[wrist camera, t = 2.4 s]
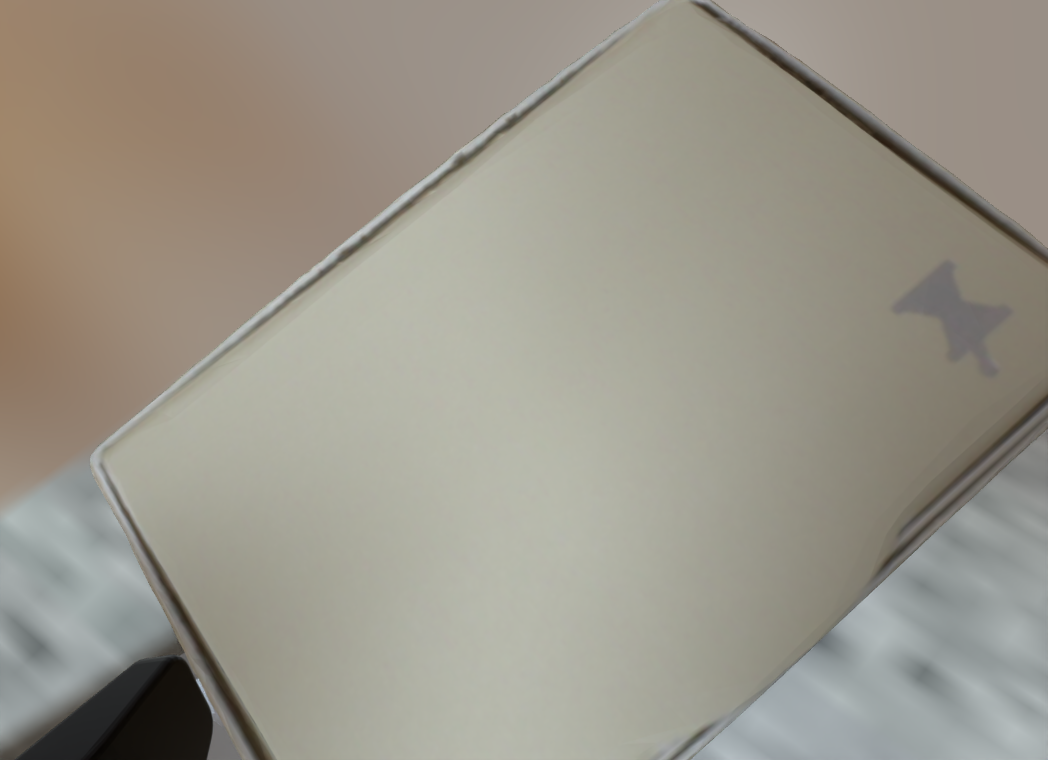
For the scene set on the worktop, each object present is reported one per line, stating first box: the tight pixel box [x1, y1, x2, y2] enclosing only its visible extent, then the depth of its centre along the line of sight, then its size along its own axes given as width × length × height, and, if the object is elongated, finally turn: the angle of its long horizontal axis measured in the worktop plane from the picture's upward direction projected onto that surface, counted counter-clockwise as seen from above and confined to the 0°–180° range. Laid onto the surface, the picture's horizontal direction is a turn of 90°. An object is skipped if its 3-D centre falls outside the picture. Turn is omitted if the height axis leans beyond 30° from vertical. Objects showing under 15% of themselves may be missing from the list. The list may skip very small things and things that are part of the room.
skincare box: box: [90, 0, 1048, 760], centre depth 11 cm, size 6×4×12 cm
